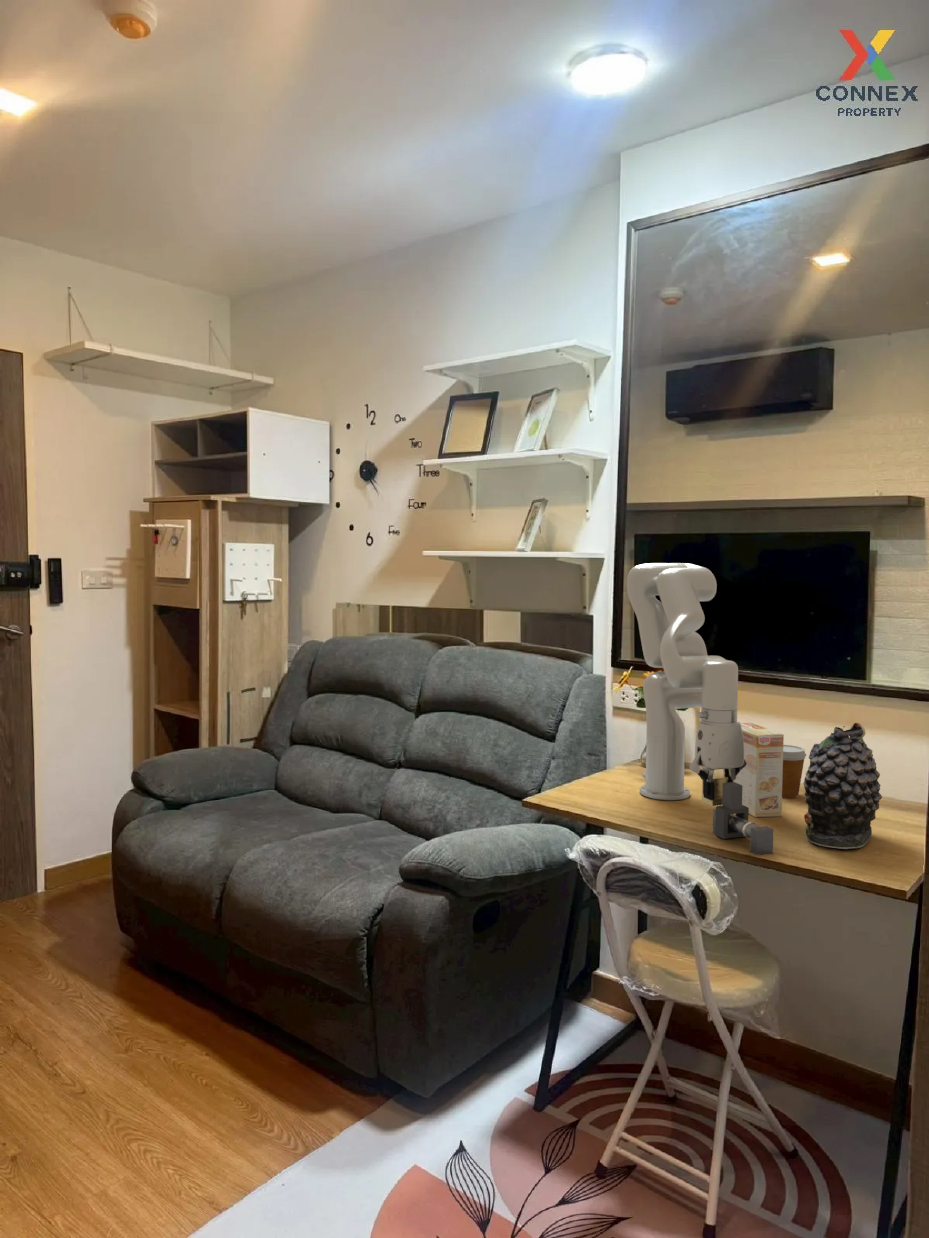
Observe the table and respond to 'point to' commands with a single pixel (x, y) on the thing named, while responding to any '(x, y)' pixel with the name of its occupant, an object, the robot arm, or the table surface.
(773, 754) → the coffeecake box
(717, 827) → the grey bracket
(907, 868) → the table surface
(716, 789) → the pale yellow rectangular block
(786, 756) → the disposable coffee cup
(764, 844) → the grey shaft with blocks
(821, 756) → the pinecone sculpture
